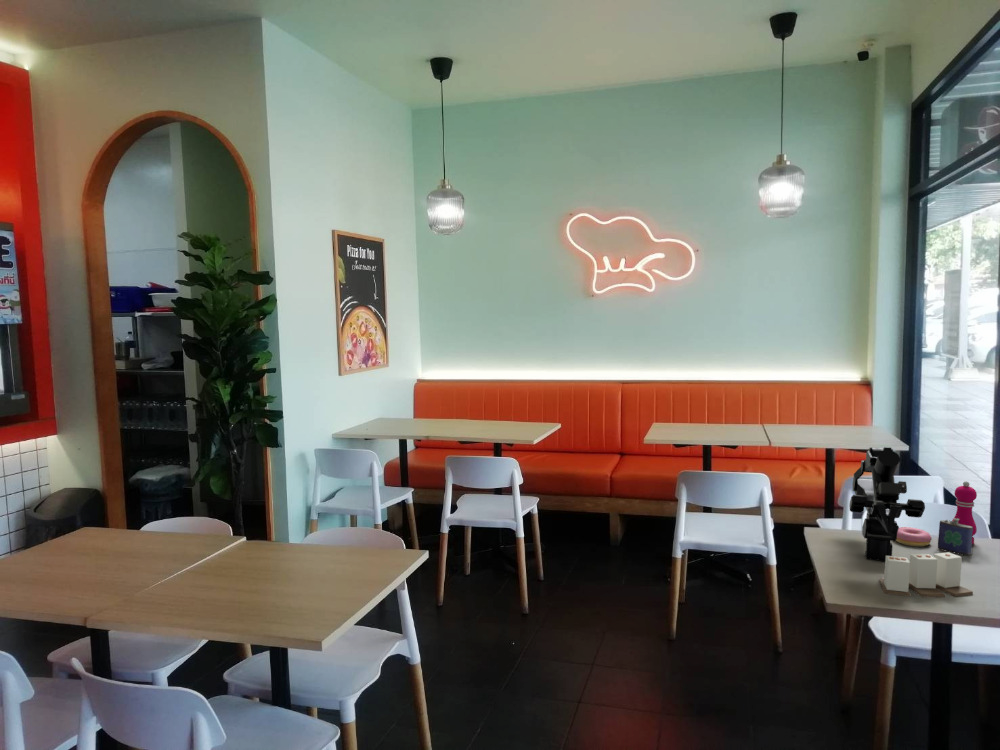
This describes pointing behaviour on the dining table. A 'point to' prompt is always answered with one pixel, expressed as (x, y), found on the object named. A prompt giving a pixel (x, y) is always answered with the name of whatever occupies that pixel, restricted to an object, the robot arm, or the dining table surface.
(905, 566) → the three-dot tile
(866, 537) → the robot arm
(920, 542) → the doughnut
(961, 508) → the pepper mill
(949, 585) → the white pillar with knob
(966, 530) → the flask
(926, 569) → the two-bump white pillar
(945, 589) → the tile tracks
